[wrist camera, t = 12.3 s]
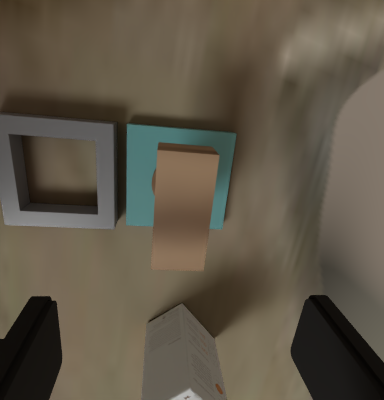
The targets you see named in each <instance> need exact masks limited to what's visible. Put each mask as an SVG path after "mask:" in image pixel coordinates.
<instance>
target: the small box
mask: <svg viewBox="0 0 384 400" xmlns="http://www.w3.org/2000/svg"><path fill="white" fill-rule="evenodd" d="M141 400H227V397H226V392H225V387H224V382H223V377H222V373H221V368H220V363H219V358H218V353H217V349H216V344H215V339H214V338H213V337H212V336H211V335H210V334H209V332H208V331H207V330H206V329H205V328H204V327H203V326H202V325H201V324H200V322H199V321H198V320H197V319H196V318H195V317H194V316H193V315H192V314H191V312H190V311H189V310H188V309H187V308H186V307H185V306H184V304H183V303H181V304H180V305H178V306H176V307H174V308H173V309H171V310H169V311H168V312H166V313H164V314H163V315H161V316H159V317H157V318H156V319H154V320H152V321H151V322H149V323H147V324H146V336H145V351H144V366H143V381H142V396H141Z"/></svg>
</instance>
